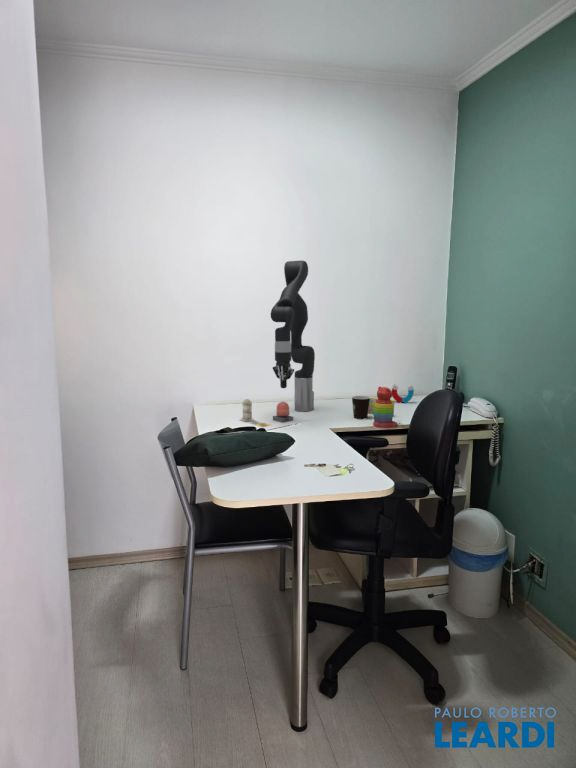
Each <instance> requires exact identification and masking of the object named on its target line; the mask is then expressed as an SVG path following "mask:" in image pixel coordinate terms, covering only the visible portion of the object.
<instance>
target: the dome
mask: <svg viewBox="0 0 576 768" xmlns="http://www.w3.org/2000/svg"><path fill="white" fill-rule="evenodd" d="M277 415H278V416H290V405H289V403H287V402H285V401H281V402H278V403H277V405H276V416H277Z"/></svg>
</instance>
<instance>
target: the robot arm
mask: <svg viewBox="0 0 576 768" xmlns="http://www.w3.org/2000/svg"><path fill="white" fill-rule="evenodd" d="M283 268H284V269H283V270H284V272H283V273H284V279H285V285H286V286H285V287H284V288H283V290H282V292H281V294H280V296H279V299H278V300H277V302H276V303H275V304H274V306H273V307H272V308H271V310H270V318H271V320H272V322H273V323H285V324H284V325H283V326H281V327H277V328H275V331H274V338H275V339H274V361H275V366H272V371H273V372H274V375H275V377H276V378H277V379H279V382H280V385H279V386H280V388H281V389H286V388H287V386H288V384H287V382H288V380H290V379H291V377H292V375H293V374H294V411H295V412H300V413H302V412H303V413H306V412H311V411H314V409H315V408H314V407H315V401H314V400H315V391H313V390H314V389H313V388H314V386H313V383H314V382H313V381H314V379H313V377H314V371H315V361H316V359H315V358H316V357H315V355H316V354H315V350H314V348H313V347H312V346H310V345H303V343H302V341H303V339H302V337H303V332H304V330H305V328H306V326H307V324H308V320H309V314H308V305H307V303H306V301H305V300H304V299H303V298H302V295H300V293H299V292H300V290H301V288H302V286H303V285H304V284H305V281H306V280H307V277H308V275H309V266H308V263H307V261H306V260H288V261H286V262H285V263H284V266H283ZM291 361H292V362H293V363H294V364H299V365H301V368H300V369H298V370H296V371H295V369H294V368H292V367H291V366H292V365H291Z"/></svg>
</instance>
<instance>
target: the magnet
mask: <svg viewBox="0 0 576 768" xmlns="http://www.w3.org/2000/svg"><path fill="white" fill-rule="evenodd" d="M398 389H399V386H398V385H397V384H395V383H393V386H392V388H391V391H392V398H393V400H394V401H395V402H397V403H399V402H404V403H403V404H406V403H408V402H410V401H411V400H412V399H413V396H414V394H415V393H414V392H415V391H414V386H413V384H410V385H409V386H407V391H408V392H407V394H406V396H400V395H399V393H398Z"/></svg>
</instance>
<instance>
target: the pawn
mask: <svg viewBox="0 0 576 768" xmlns="http://www.w3.org/2000/svg"><path fill="white" fill-rule="evenodd" d="M252 404H253V402H252V401H251V400H250V399H248V398H246V399H244V400H243V401H242V418H241V419H240V420H241V422H243V421H244V422H243V423H246V422H250V421H253V420H254V418H253V410H252V409H253V408H252V407H253V406H252Z"/></svg>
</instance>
